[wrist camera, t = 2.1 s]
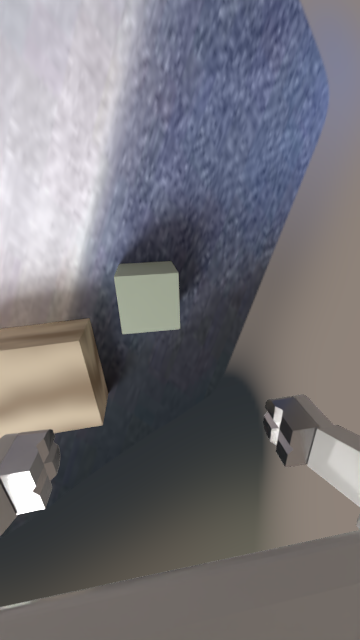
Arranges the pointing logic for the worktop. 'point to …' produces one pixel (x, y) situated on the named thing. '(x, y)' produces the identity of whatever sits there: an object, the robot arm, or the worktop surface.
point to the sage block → (148, 296)
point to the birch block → (50, 378)
